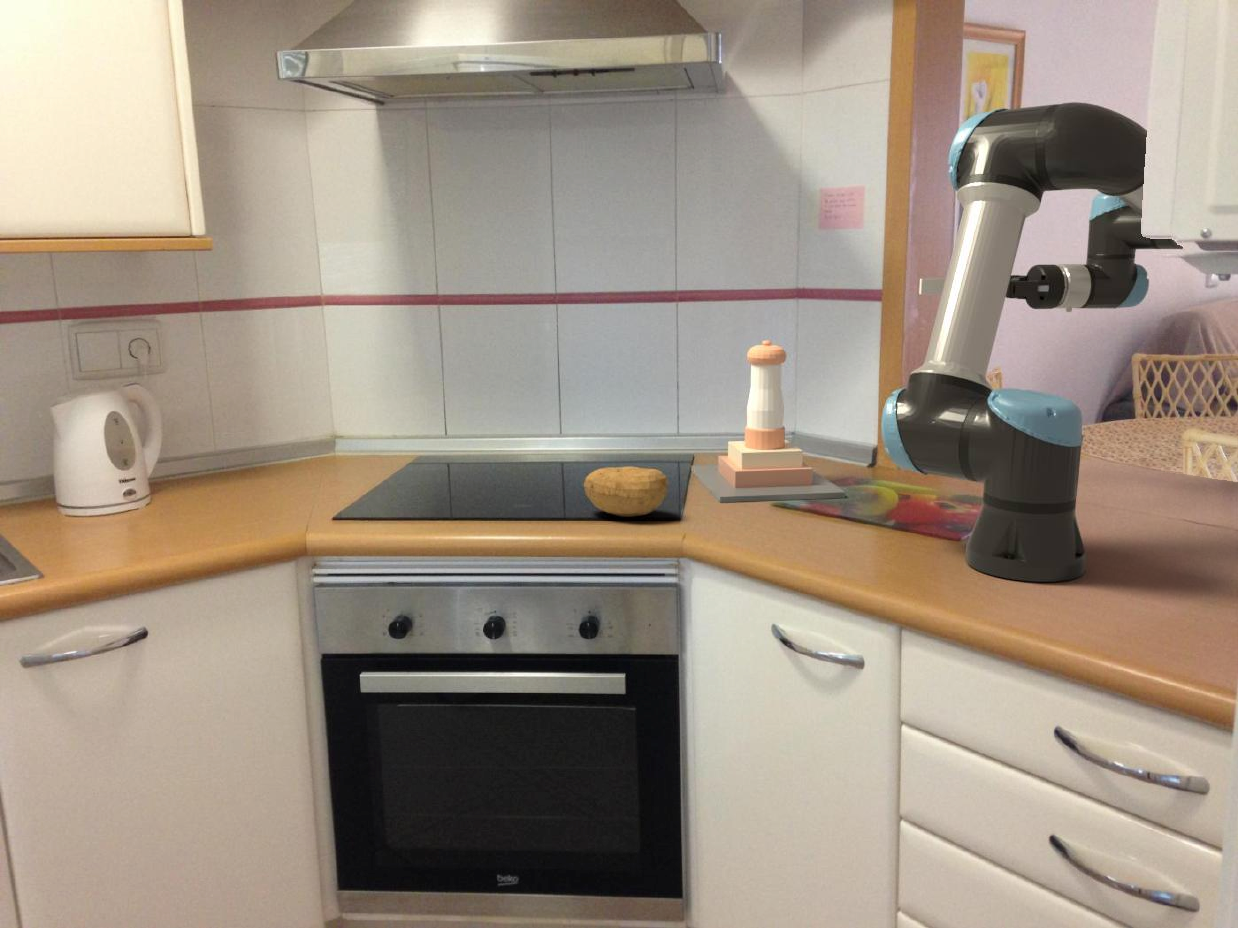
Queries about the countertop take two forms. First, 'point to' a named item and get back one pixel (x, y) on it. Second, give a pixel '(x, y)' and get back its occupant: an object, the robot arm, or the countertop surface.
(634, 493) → the potato
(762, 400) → the pepper shaker
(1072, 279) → the robot arm
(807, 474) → the stacked blocks on tray
